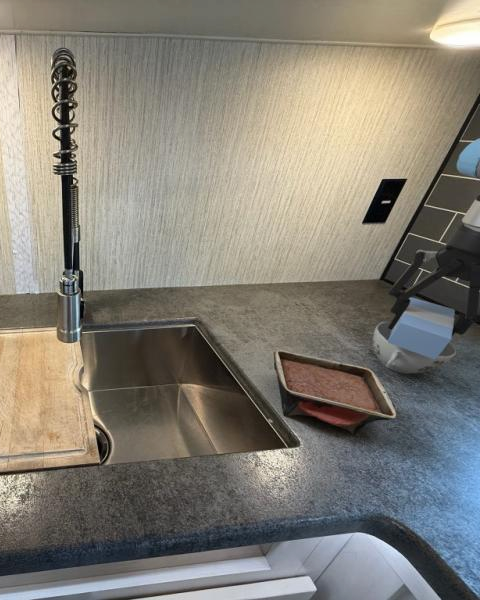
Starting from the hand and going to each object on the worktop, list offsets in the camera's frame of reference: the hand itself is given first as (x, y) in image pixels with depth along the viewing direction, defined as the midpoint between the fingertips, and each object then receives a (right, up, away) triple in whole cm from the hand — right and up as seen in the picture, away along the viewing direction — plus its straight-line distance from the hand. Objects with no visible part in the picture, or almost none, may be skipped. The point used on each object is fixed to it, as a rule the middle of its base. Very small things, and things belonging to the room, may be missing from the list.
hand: (415, 334), depth 65 cm
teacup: (0, -8, +5) cm, 9 cm away
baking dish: (-25, -13, -4) cm, 28 cm away
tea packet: (0, 0, 0) cm, 0 cm away
